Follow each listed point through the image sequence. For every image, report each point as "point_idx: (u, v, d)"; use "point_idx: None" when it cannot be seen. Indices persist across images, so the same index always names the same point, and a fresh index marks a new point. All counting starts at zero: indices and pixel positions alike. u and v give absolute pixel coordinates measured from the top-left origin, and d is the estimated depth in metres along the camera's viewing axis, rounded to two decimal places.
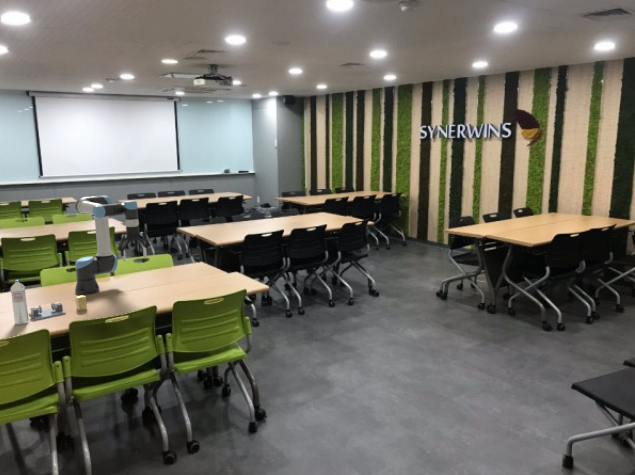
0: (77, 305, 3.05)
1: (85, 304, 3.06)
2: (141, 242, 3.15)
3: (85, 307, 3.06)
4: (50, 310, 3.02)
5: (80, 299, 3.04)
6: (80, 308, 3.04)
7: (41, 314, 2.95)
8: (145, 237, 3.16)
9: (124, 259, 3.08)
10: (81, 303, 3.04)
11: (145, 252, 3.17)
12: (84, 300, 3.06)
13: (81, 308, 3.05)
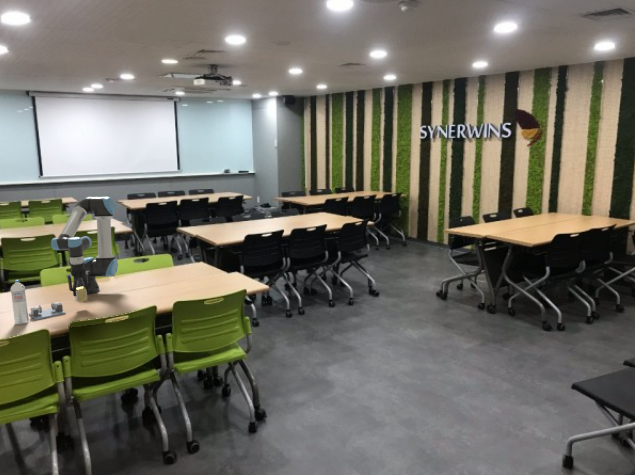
0: None
1: (85, 295, 3.06)
2: (83, 281, 3.05)
3: (85, 298, 3.06)
4: (50, 310, 3.02)
5: (80, 290, 3.03)
6: (80, 299, 3.04)
7: (41, 314, 2.95)
8: (89, 277, 3.07)
9: (76, 299, 3.04)
10: (81, 294, 3.04)
11: None
12: (84, 291, 3.05)
13: (81, 299, 3.05)
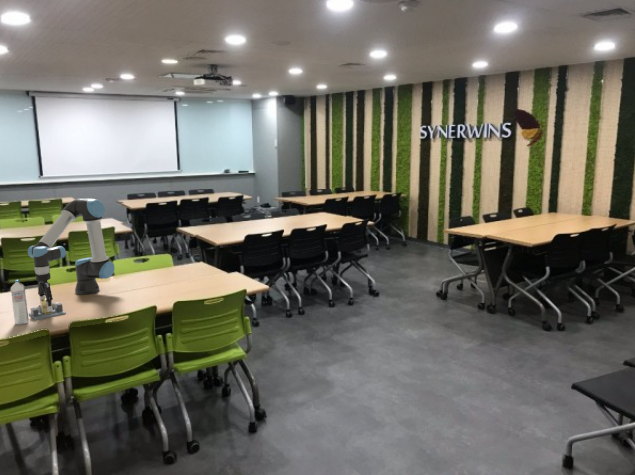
0: None
1: (43, 309, 2.95)
2: None
3: (43, 312, 2.95)
4: None
5: (41, 302, 2.96)
6: None
7: (41, 314, 2.95)
8: (46, 290, 2.90)
9: None
10: (41, 306, 2.96)
11: None
12: (42, 304, 2.95)
13: (42, 311, 2.97)
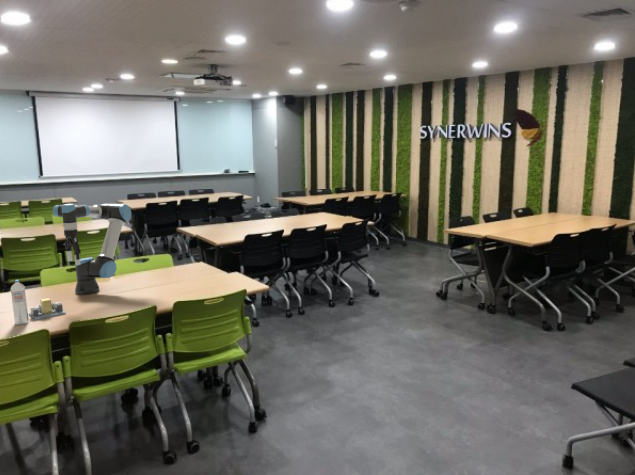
0: None
1: (43, 309, 2.95)
2: None
3: (43, 312, 2.95)
4: None
5: (41, 302, 2.96)
6: None
7: (41, 314, 2.95)
8: (74, 244, 3.04)
9: None
10: (41, 306, 2.96)
11: None
12: (42, 304, 2.95)
13: (42, 311, 2.97)
